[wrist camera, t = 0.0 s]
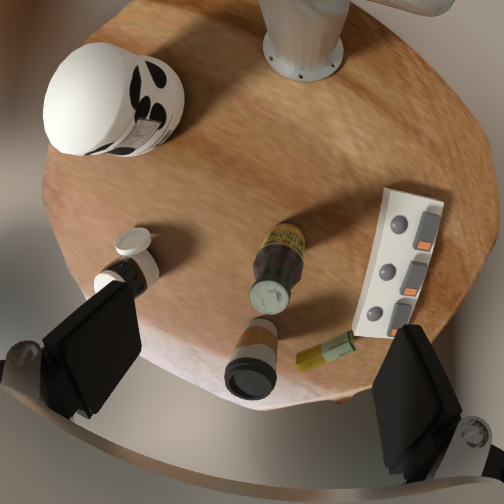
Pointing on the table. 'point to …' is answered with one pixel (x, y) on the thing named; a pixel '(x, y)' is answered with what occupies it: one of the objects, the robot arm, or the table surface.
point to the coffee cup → (253, 361)
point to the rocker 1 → (398, 318)
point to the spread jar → (131, 263)
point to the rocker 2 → (426, 231)
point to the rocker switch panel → (392, 260)
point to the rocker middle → (413, 278)
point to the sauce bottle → (277, 268)
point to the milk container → (111, 102)
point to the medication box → (325, 352)
